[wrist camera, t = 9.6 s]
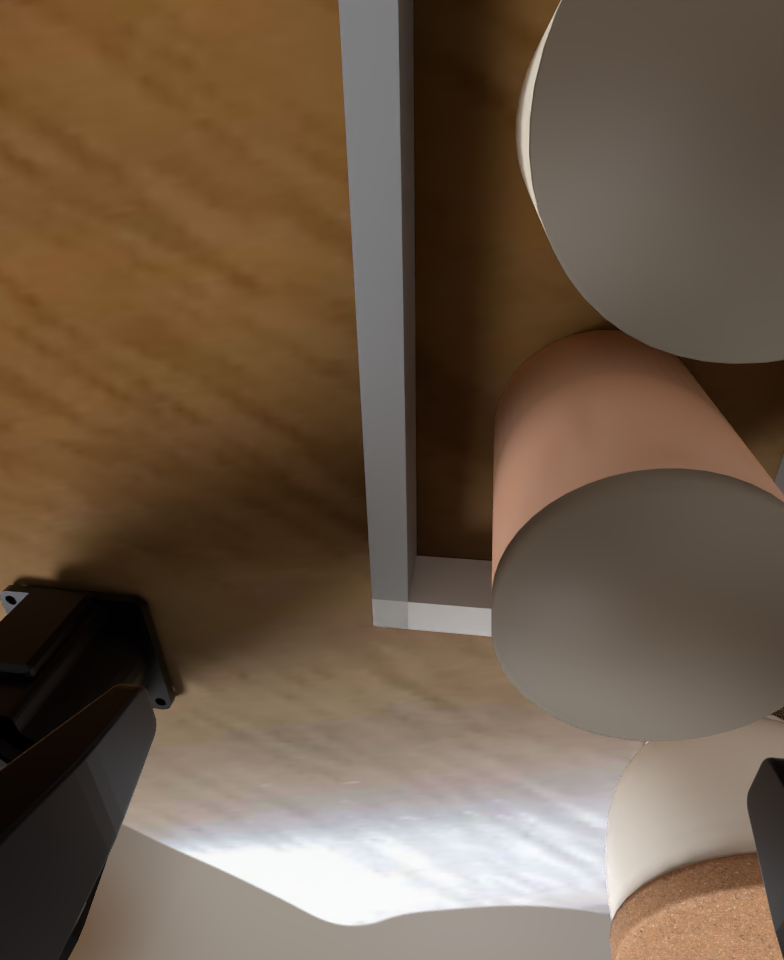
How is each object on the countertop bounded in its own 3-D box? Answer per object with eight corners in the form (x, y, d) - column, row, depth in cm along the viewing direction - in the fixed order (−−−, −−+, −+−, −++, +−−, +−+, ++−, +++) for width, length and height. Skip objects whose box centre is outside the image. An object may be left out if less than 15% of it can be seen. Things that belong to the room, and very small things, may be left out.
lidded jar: (627, 638, 22) (699, 923, 14) (931, 693, 22) (1184, 1027, 14) (557, 803, 28) (581, 1074, 20) (796, 851, 27) (921, 1154, 19)
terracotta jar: (676, 514, 20) (786, 757, 12) (489, 503, 20) (483, 723, 13) (723, 331, 17) (908, 504, 9) (500, 327, 17) (501, 483, 10)
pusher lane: (341, -489, 11) (296, -665, 8) (1251, -651, 9) (1533, -941, 6) (385, 578, 23) (371, 632, 20) (769, 608, 21) (804, 671, 18)
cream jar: (744, 249, 15) (975, 369, 8) (507, 250, 16) (514, 358, 9) (823, -58, 12) (1312, -329, 5) (526, -38, 13) (561, -244, 6)
